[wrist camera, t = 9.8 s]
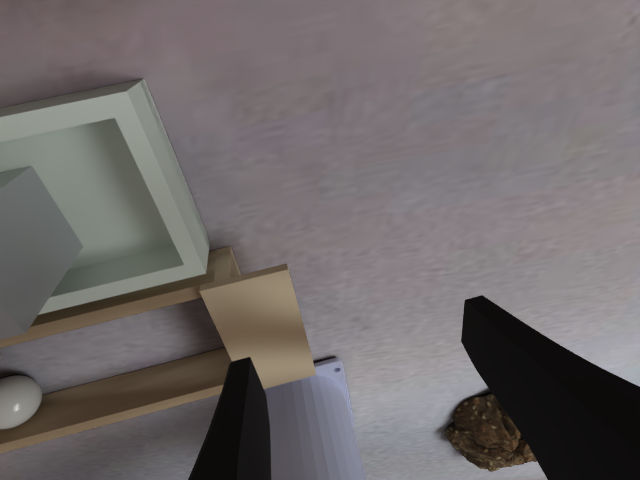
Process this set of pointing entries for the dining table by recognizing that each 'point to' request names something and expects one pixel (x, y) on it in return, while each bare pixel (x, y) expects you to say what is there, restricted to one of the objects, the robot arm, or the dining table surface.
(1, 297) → the stone block
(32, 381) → the grey ball
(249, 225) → the dining table surface
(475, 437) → the brown rock
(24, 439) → the birch crate
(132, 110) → the green tub
